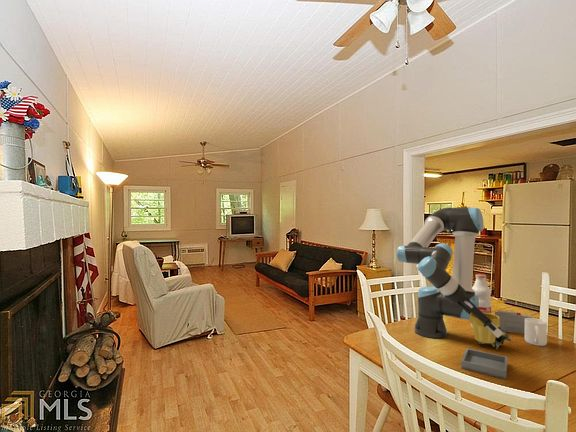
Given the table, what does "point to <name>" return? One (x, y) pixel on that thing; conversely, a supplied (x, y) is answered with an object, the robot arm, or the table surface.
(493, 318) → the plant pot
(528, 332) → the mug
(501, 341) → the green leafy plant
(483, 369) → the tray
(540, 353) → the table surface
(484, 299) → the fruit juice
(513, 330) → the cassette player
